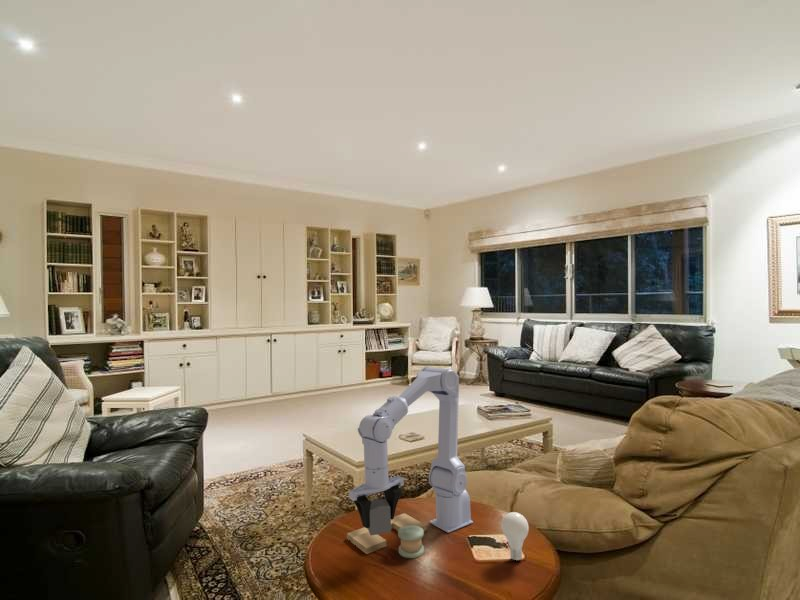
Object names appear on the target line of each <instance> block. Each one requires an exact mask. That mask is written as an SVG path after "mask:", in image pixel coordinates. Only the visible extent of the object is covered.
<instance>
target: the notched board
mask: <svg viewBox="0 0 800 600" xmlns="http://www.w3.org/2000/svg"><path fill="white" fill-rule="evenodd" d="M408 525H415V526H419V527H421V528H422V529H423V531H424V533H425V532H426V531H427V525H426V524H424V523H423V522H421V521H419V520H418V519H416V518H414V517H413V516H410V515H409V514H407V513H405V512H404V513H401V514H398V515H394V519H392V520H391V530H393V529H394V530H395V531H397V532H398V530H399V529H400V528H401V527H404V526H408ZM346 539H347V540H348V541H349V540H350V541H351V542H350V541H349V542H350V543H352V544H353V545H354V546H355V545H356V547H357V548H358V549H360V550H361V552H363V553H365V555H368V554H372V553H374V552H376V551H378V550H382V549H383V548H387V539H385V538H383V537H382V536H380V534H377V535H371V536H370V533H369V531H368V528H365V527H364V526H363V527H361V528H358V529H355V530H351V531H350V532H349V531H348V532H347V533H346Z"/></svg>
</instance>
